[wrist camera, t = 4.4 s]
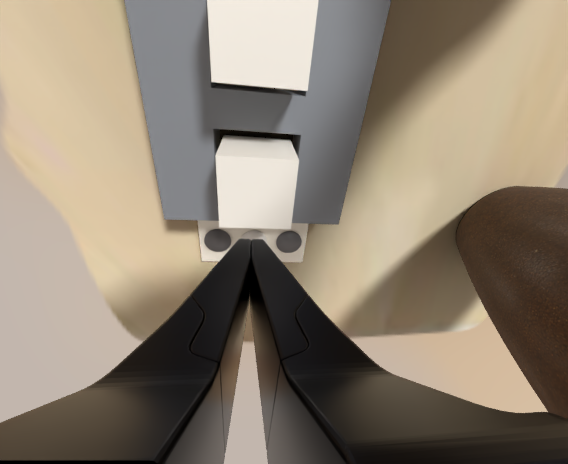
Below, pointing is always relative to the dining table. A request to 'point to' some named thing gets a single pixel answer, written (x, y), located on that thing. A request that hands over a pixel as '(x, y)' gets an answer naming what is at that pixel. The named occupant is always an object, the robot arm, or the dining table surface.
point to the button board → (253, 104)
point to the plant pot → (524, 280)
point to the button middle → (262, 42)
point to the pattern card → (279, 240)
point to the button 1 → (256, 182)
